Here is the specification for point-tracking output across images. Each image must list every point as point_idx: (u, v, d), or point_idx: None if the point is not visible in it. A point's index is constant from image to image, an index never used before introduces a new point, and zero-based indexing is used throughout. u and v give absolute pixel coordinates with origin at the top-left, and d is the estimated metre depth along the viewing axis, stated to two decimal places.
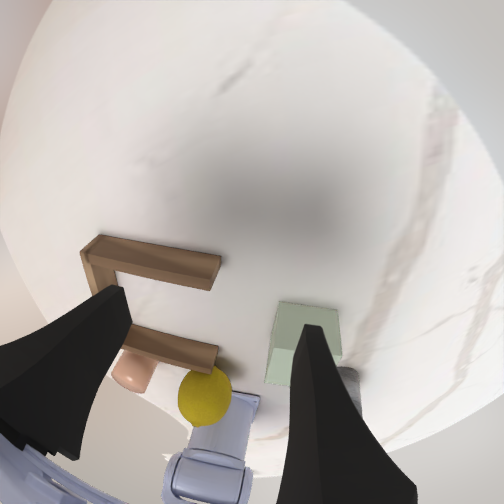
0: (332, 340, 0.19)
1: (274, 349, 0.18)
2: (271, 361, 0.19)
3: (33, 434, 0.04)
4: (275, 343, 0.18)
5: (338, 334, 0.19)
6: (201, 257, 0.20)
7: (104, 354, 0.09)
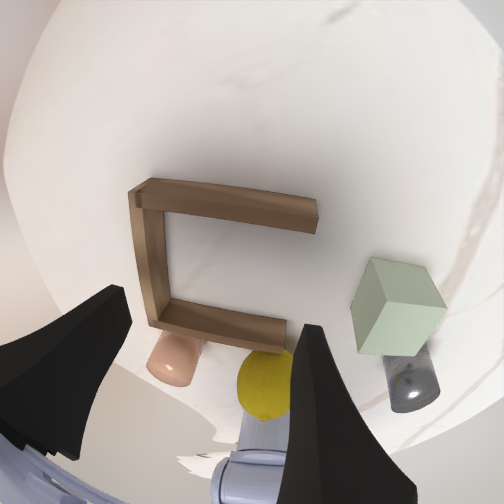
0: (433, 294, 0.15)
1: (386, 303, 0.14)
2: (377, 321, 0.15)
3: (33, 434, 0.04)
4: (386, 296, 0.15)
5: (435, 288, 0.16)
6: (294, 199, 0.17)
7: (104, 354, 0.09)
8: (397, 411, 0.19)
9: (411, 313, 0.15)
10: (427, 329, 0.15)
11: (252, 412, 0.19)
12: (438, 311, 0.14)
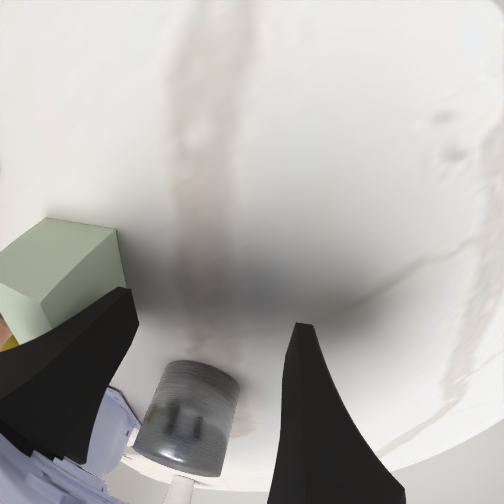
0: (51, 273, 0.07)
1: None
2: None
3: (41, 440, 0.04)
4: None
5: (72, 265, 0.08)
6: None
7: (112, 357, 0.09)
8: None
9: (7, 298, 0.07)
10: None
11: None
12: (30, 303, 0.07)
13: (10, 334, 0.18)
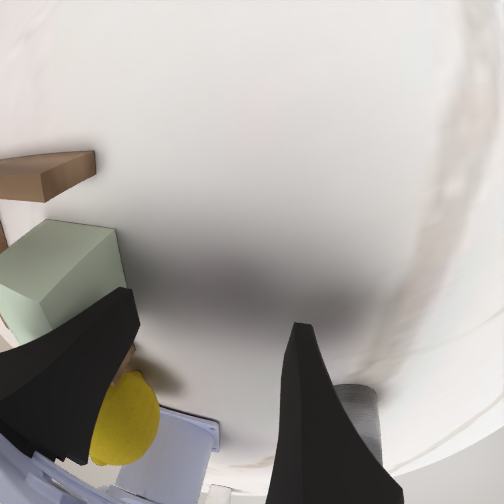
0: (51, 274, 0.07)
1: None
2: None
3: (42, 441, 0.04)
4: None
5: (72, 265, 0.08)
6: (62, 155, 0.08)
7: (113, 357, 0.09)
8: None
9: (7, 299, 0.07)
10: None
11: None
12: (30, 304, 0.06)
13: None
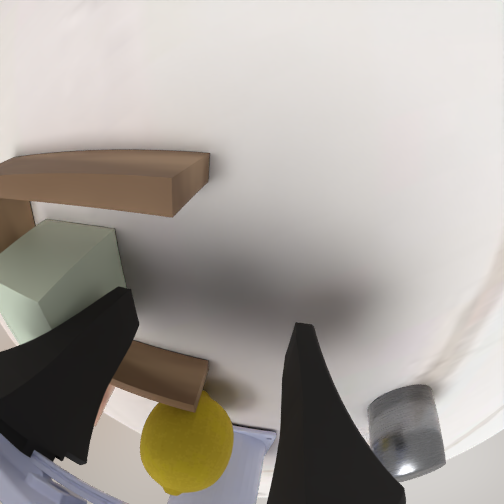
0: (49, 273, 0.07)
1: None
2: None
3: (41, 440, 0.04)
4: None
5: (71, 265, 0.08)
6: (164, 154, 0.08)
7: (112, 357, 0.09)
8: None
9: (7, 298, 0.07)
10: None
11: (156, 481, 0.10)
12: (29, 303, 0.06)
13: (112, 390, 0.17)
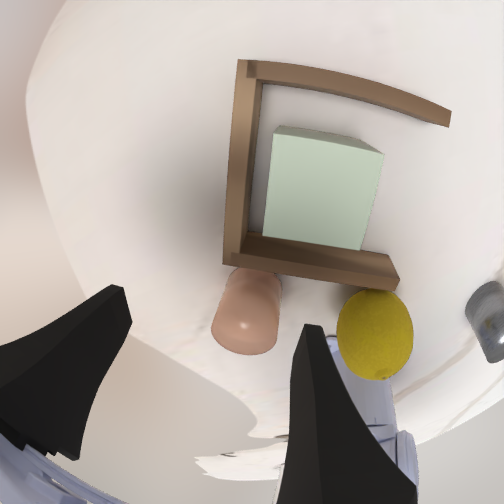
0: (363, 146, 0.12)
1: (274, 138, 0.11)
2: (271, 171, 0.12)
3: (33, 434, 0.04)
4: (275, 133, 0.11)
5: (369, 146, 0.12)
6: None
7: (104, 354, 0.09)
8: (489, 360, 0.15)
9: (322, 158, 0.11)
10: (363, 193, 0.11)
11: (370, 369, 0.14)
12: (368, 157, 0.11)
13: None
